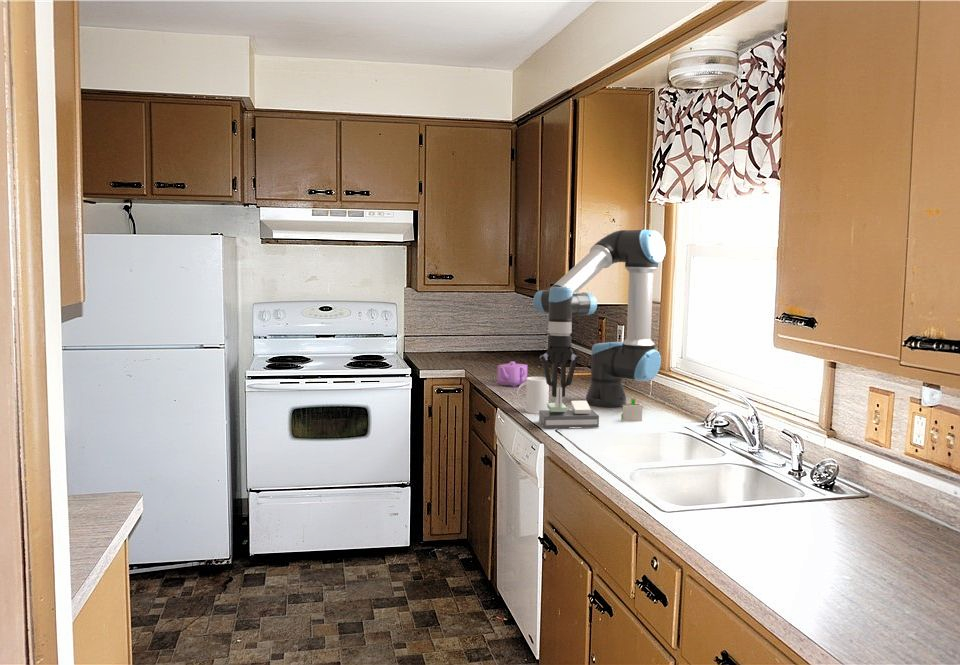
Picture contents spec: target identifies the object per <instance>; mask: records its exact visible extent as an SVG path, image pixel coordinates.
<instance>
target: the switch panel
mask: <svg viewBox="0 0 960 665" xmlns="http://www.w3.org/2000/svg"><path fill="white" fill-rule="evenodd" d="M538 415H539V416H538V422H539V424H540V426H541V427H542V428H543V429H544V430H553V429H555V428H558V429H570V428H569V427H599V428H600V426H599V425H600V416H599V414H597V413H596V412H595V411H594V410H593V409H591V414H575V413H574V410H573V409H567V412H551V411H550V410H539V414H538Z"/></svg>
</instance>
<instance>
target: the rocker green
mask: <svg viewBox="0 0 960 665" xmlns="http://www.w3.org/2000/svg"><path fill="white" fill-rule="evenodd" d="M547 407H548V409H549V410H550V411H551V412H567V410H568V407H567V406H566V405H565V404H564V403H563V402H562V408H556V407H555V402H549V403H547Z"/></svg>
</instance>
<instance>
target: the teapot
mask: <svg viewBox="0 0 960 665" xmlns="http://www.w3.org/2000/svg"><path fill="white" fill-rule="evenodd" d="M526 378H528V364H523V363H516V361H511V360H510V361H509V363H504V364H499V365H497V380H496V381H497V385H502V386H503V387H504V386H505V387H506V386H509V387H510V386H511V387H512V388H517V386H520V385H521V384H522V383H524V382H526Z"/></svg>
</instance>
